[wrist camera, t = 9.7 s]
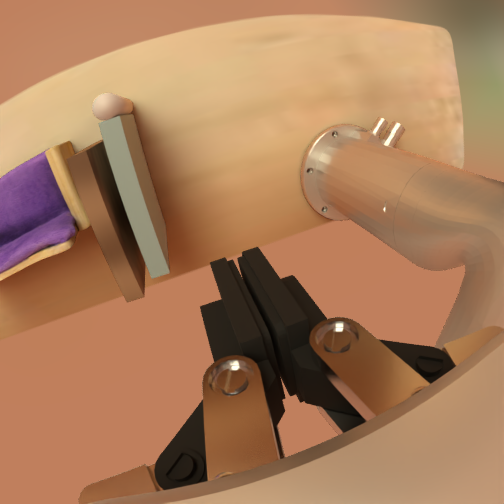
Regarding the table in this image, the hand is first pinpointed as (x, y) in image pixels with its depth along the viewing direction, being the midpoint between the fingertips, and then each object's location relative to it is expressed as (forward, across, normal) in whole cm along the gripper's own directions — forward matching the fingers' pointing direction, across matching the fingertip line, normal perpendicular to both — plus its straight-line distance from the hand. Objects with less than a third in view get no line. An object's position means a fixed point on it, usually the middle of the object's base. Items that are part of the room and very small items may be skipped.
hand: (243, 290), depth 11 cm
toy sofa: (+26, +21, -2) cm, 33 cm away
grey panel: (+25, +5, -2) cm, 25 cm away
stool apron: (+25, +8, +1) cm, 26 cm away
